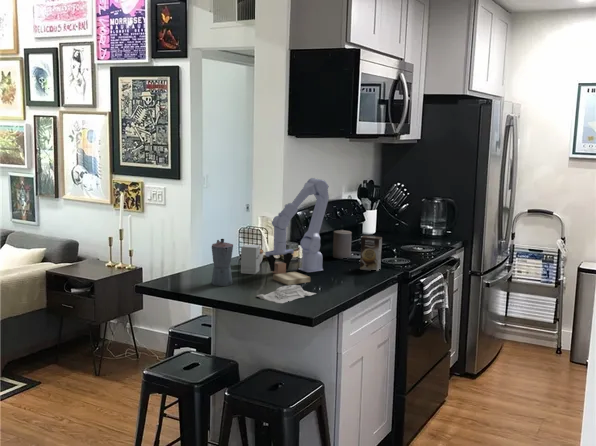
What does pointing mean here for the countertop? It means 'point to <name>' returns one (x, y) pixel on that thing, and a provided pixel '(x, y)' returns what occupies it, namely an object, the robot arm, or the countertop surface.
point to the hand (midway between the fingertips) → (279, 270)
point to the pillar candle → (342, 244)
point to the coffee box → (370, 253)
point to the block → (279, 268)
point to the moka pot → (222, 263)
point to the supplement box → (250, 259)
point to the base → (291, 278)
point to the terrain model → (286, 294)
